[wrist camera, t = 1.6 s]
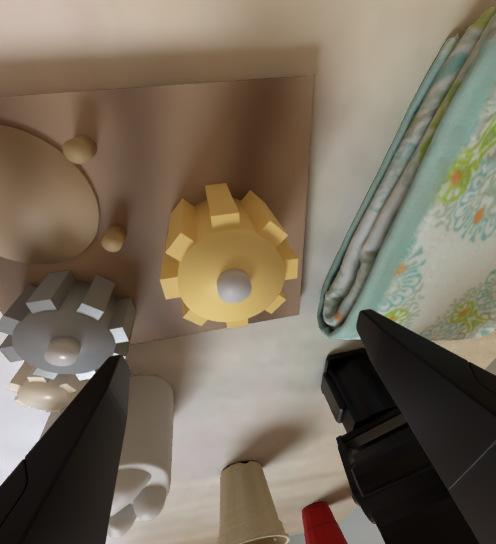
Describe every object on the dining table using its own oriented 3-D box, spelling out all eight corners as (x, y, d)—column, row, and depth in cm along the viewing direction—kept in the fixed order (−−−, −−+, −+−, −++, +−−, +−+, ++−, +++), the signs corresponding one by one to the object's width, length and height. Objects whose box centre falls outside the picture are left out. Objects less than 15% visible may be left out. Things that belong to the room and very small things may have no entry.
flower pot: (229, 451, 36) (239, 539, 29) (283, 456, 40) (304, 534, 33) (198, 483, 40) (200, 568, 33) (251, 484, 44) (263, 560, 37)
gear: (117, 262, 17) (101, 301, 13) (146, 336, 20) (139, 380, 17) (-1, 279, 16) (-47, 325, 13) (52, 353, 20) (27, 402, 16)
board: (305, 76, 14) (326, 73, 12) (294, 305, 23) (305, 326, 21) (-131, 106, 12) (-202, 109, 10) (46, 348, 21) (30, 377, 19)
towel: (635, 103, 19) (761, 106, 15) (448, 322, 30) (491, 359, 25) (452, -6, 14) (568, -50, 10) (302, 309, 24) (326, 354, 20)
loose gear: (272, 177, 15) (308, 212, 11) (273, 272, 19) (300, 328, 15) (154, 190, 15) (139, 234, 10) (179, 287, 18) (177, 351, 14)
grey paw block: (177, 373, 25) (173, 482, 18) (169, 443, 32) (164, 543, 25) (50, 376, 23) (-12, 506, 15) (70, 452, 29) (32, 567, 22)
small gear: (66, 336, 19) (44, 373, 17) (107, 368, 22) (92, 404, 19) (17, 353, 20) (-11, 391, 18) (62, 383, 23) (42, 419, 20)
